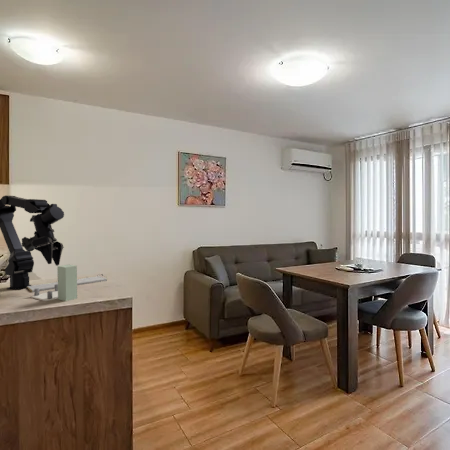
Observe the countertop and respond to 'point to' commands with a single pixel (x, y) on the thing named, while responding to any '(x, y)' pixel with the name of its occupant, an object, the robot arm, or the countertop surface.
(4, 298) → the countertop surface
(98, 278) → the grey bar clamp
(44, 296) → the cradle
